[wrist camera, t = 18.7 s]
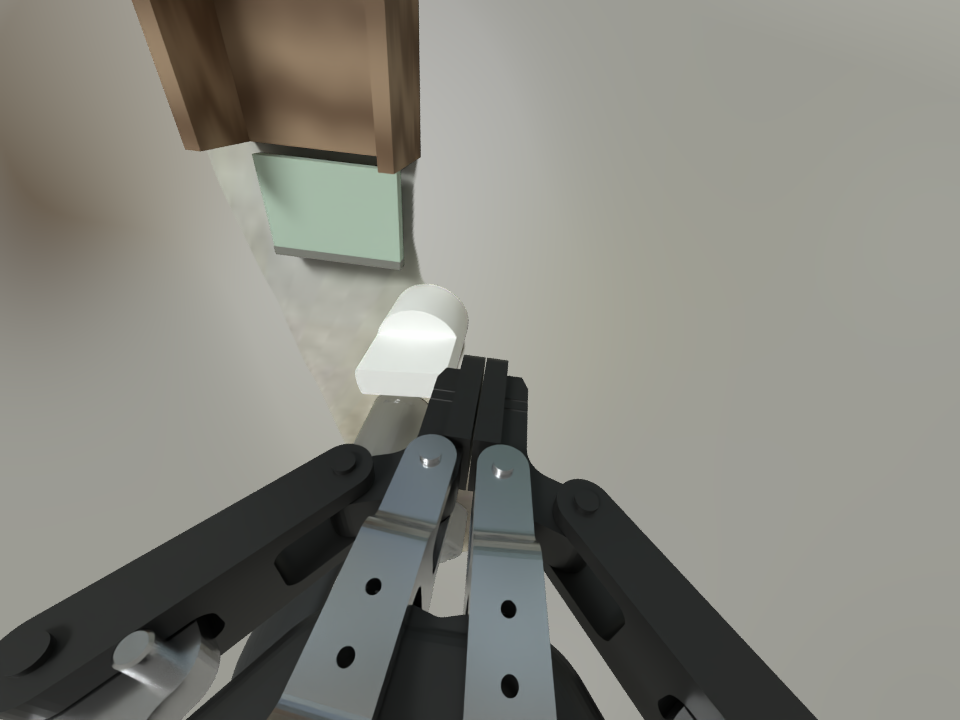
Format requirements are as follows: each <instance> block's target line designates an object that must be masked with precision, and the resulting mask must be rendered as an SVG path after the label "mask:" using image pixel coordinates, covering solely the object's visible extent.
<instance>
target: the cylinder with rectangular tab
mask: <svg viewBox="0 0 960 720" xmlns="http://www.w3.org/2000/svg"><path fill="white" fill-rule="evenodd" d="M467 329H468V315H467V311H466V309H465V307H464V305H463V303H462V302H461V301H460V300H459V299H458V298H457V296H456V295H455V294H453V293H452V292H450V291H449V290H447V289H445V288H443V287H440V286H438V285H432V284H420V285H415V286H412V287H410V288H408V289H406V290H405V291H404V292H403V293H401V294H400V296H399V298H398V299H397V301H396V302H395V304H394V305H393V307H392V308H391V310H390V312H389V313H388V315H387V316H386V318H385V320H384V321H383V323H382V324H381V326H380V328H379V331H378V334H377V336H376V338H375V339H374V341H373V342H372V344H371V346H370V347H369V349H368V350H367V352H366V354H365V355H364V357H363V359H362V360H361V362H360V363H359V365H358V367H357V368H356V370H355V376H356V382H357V384H358V386H359V388H360V391H361V392H362V393H363V394H375V395H391V396H408V397H425V398H431V394H432V391H433V389H434V385H435V382H436V379H437V376H438V375H439V374H440V373H441V372H443V371H444V370H445V369H446V368H447V367H448V368H455V369H457V366H458V362H459V359H460V355H461V351H462V347H463V344H464V340H465V336H466V332H467Z"/></svg>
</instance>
